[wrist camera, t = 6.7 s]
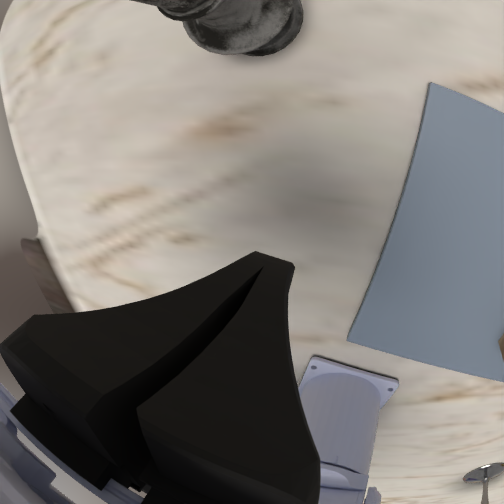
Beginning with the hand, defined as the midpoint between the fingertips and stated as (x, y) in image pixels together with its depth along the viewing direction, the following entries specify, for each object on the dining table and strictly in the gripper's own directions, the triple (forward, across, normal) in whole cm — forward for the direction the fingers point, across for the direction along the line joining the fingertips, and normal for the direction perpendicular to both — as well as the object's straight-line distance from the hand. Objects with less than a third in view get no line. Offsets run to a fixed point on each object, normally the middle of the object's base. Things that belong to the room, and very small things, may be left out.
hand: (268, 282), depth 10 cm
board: (+10, -17, +1) cm, 19 cm away
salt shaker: (+10, +6, -10) cm, 15 cm away
